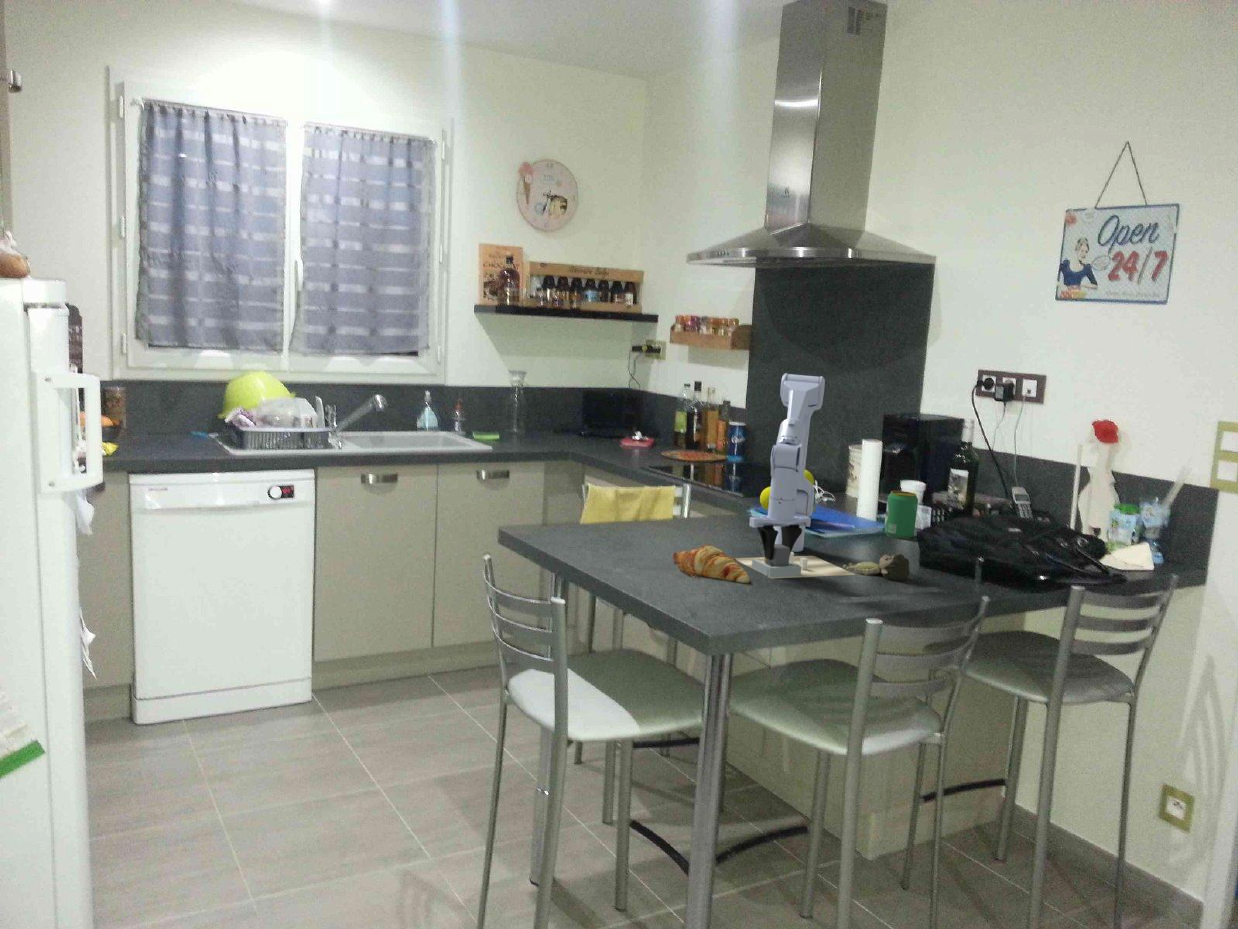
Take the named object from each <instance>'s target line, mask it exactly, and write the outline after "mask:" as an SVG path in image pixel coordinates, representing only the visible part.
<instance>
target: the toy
mask: <svg viewBox="0 0 1238 929" xmlns="http://www.w3.org/2000/svg"><path fill="white" fill-rule="evenodd" d="M804 477H805V478H806V479H807V480H808V481H809V482H811V483H812V484H813V486H814V485H815V479H814V476H813V474H812V473H811V472H810V471H809V470H807V469H805V474H804ZM770 488H771V486H768V487H766V488H764V489H763V490H762V492H761V493H760V496H759V502H760V505H761V507H762V508H763V509H764V510H766V511H767V512H768V509H769V499H770ZM797 490H799V489H797ZM800 491H804V490H800ZM815 504H816V495H815V493H814V505H813V511H812V513H813V512H814V513H815V510H816V505H815ZM814 513H813V514H814Z"/></svg>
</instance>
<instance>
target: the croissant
mask: <svg viewBox="0 0 1238 929" xmlns="http://www.w3.org/2000/svg"><path fill="white" fill-rule="evenodd" d="M672 559H673V561H674V562H675V563H676V564H677V566H678V568H679V569H680V570H681V571H682V572H684V573H686V574H687V575H689V576H691V575H692V576H691V577H694V576H695V578H697V579H700V578H701V577H700V576H702V577H705V578H713V579H720V580H723V581H730V582H735V583H741V584H749V582H750V580H751V579H750V577H749V573H748V572H747V571H746V569H745V568H744V567H742V566H741V565H740V562H739V561H737V560H736V559H735V558H734V557H730V556H727V554H726V553H725V552H724V551H723V550H721V549H719V548H717V547H715V546H712V545H708V544H705V545H702V546H700V547H699V548H693V549H692V550H690V551H685V550H683V551H681V552H673V553H672Z"/></svg>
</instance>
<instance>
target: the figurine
mask: <svg viewBox="0 0 1238 929" xmlns="http://www.w3.org/2000/svg"><path fill="white" fill-rule="evenodd" d="M842 569H845V570H851V571H855V573H858V574H862V575H865V576H868V575H870V574H872V575H877V574H882V577H883V578H884V579H886V580H891V581H897V582H898V581H899V582H900V581H901V582H904V581H906V579H907V578H908V577H909V576H910V574H911V571H910V561H909V559H908V558H906V557H905V556H904V555H903V554H895V555H894V554H893V555H891V556H890V555H888V554H884V555H883V556H882V557H881V558H879V563H875V562H873V561H862V562H858V563H855V564H853V562H849V563H848V565H847V564H844V565H843V566H842Z"/></svg>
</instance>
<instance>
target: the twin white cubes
mask: <svg viewBox="0 0 1238 929" xmlns="http://www.w3.org/2000/svg"><path fill="white" fill-rule="evenodd" d="M794 556H795V553H794V552H791V553H790V556H789V561H790V562H792V563H793V559H794ZM807 561H808V559H806V558H800V566H801V569H802V570H807Z"/></svg>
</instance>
